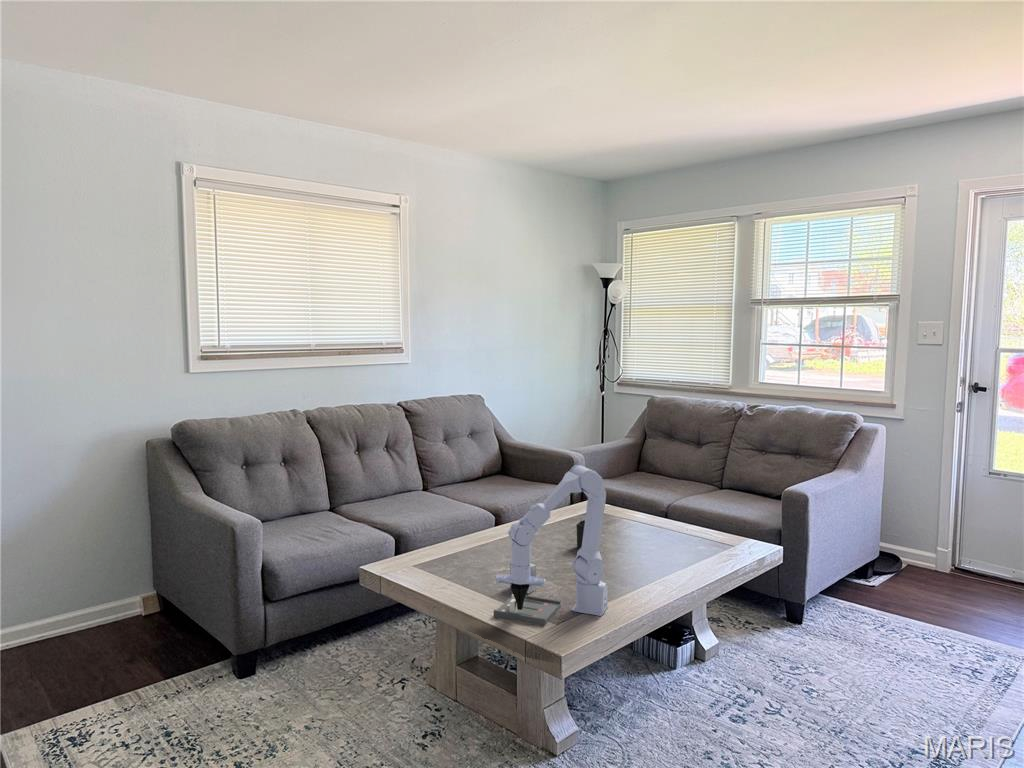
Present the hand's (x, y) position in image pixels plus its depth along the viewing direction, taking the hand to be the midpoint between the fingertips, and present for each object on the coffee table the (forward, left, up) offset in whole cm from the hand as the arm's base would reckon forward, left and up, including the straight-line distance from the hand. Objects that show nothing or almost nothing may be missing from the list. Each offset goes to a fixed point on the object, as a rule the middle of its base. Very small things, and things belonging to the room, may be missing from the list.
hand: (520, 608), depth 204 cm
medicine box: (+7, -22, -3) cm, 23 cm away
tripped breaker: (+2, 0, -2) cm, 3 cm away
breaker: (+3, -5, -2) cm, 6 cm away
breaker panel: (-1, -5, -3) cm, 6 cm away
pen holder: (-1, -72, -3) cm, 72 cm away
